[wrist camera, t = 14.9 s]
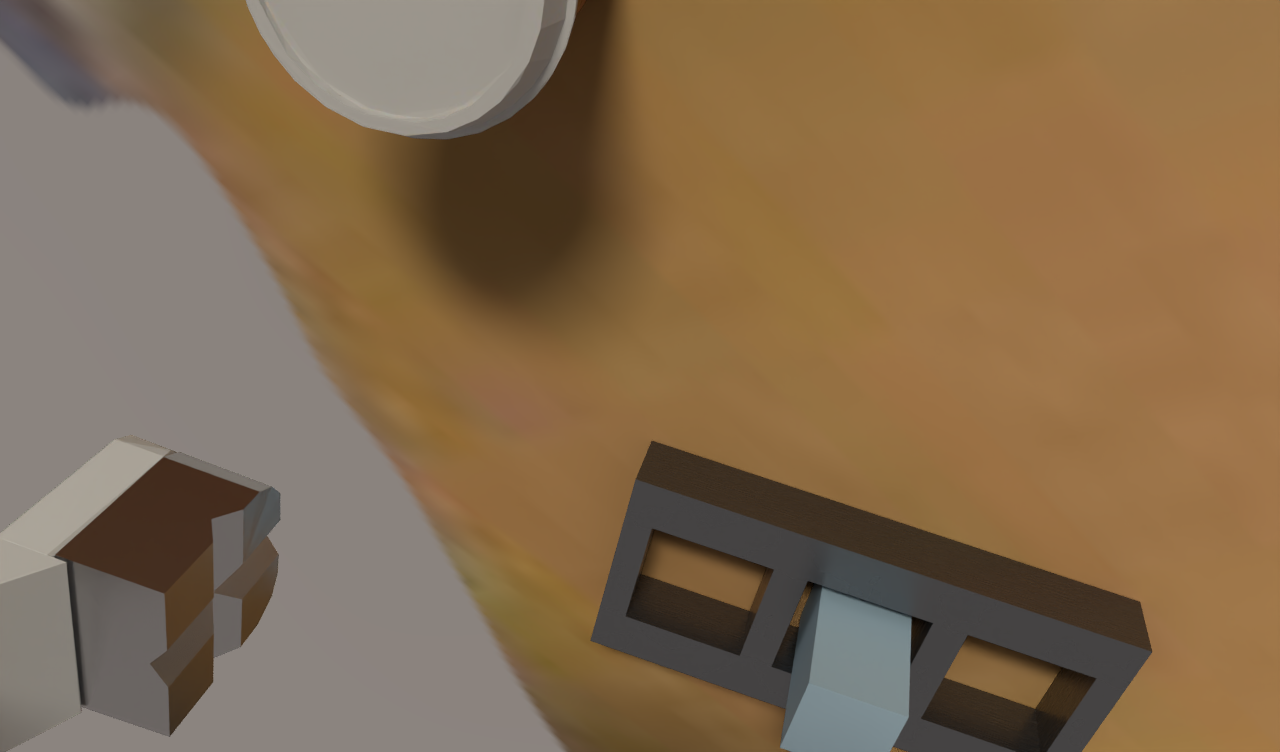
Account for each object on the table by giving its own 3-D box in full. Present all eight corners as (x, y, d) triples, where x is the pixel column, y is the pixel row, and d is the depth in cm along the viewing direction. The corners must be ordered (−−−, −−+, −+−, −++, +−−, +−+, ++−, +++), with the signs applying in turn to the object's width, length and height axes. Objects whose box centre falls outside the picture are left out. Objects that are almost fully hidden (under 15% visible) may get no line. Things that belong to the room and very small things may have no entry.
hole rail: (1139, 601, 45) (1152, 651, 42) (1041, 748, 50) (1047, 800, 48) (651, 440, 47) (635, 479, 44) (606, 598, 52) (590, 640, 50)
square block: (912, 581, 47) (908, 717, 41) (882, 642, 49) (874, 780, 43) (826, 553, 48) (808, 682, 41) (801, 614, 50) (780, 747, 43)
